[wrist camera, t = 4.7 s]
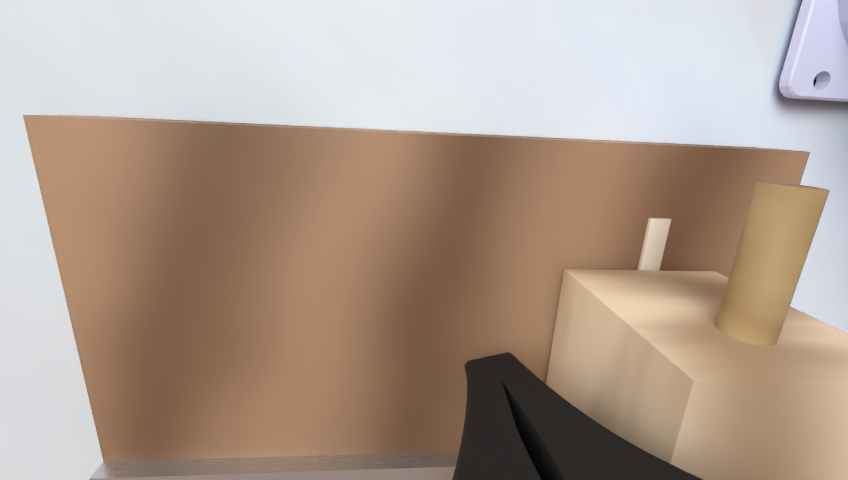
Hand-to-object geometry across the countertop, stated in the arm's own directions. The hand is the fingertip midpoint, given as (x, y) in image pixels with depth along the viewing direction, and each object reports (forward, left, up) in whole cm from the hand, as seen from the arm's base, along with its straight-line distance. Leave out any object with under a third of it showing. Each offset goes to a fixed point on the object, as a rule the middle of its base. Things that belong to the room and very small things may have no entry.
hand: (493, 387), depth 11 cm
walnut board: (+1, +1, -3) cm, 4 cm away
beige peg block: (-4, -1, -1) cm, 5 cm away
